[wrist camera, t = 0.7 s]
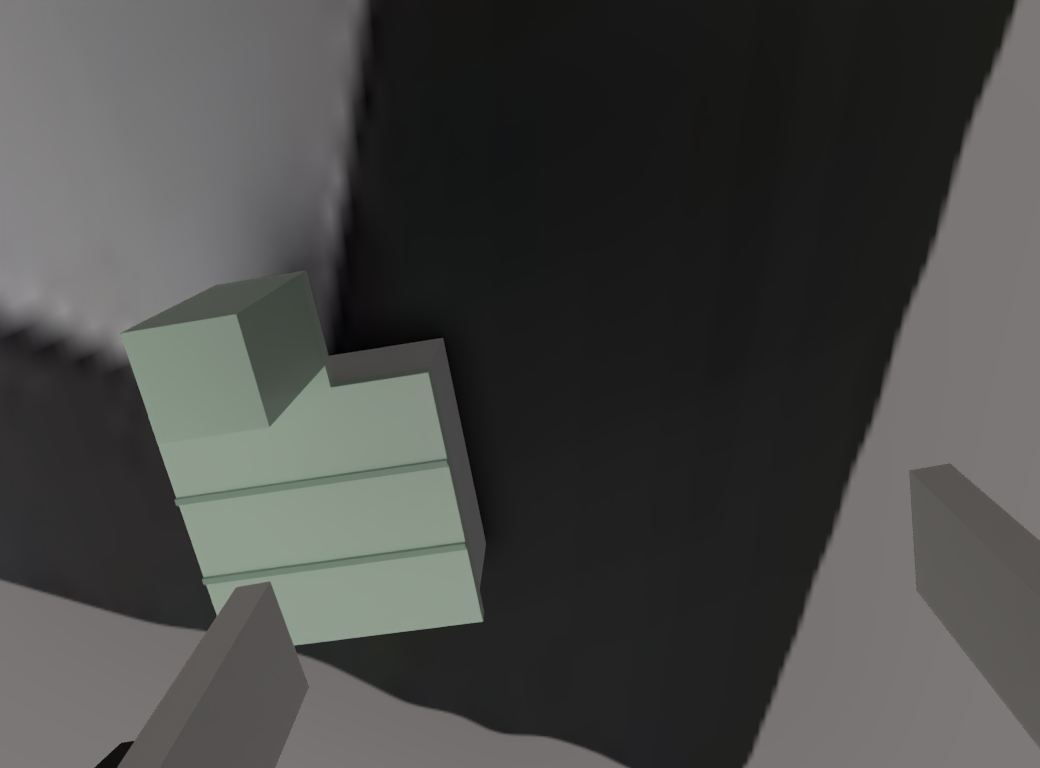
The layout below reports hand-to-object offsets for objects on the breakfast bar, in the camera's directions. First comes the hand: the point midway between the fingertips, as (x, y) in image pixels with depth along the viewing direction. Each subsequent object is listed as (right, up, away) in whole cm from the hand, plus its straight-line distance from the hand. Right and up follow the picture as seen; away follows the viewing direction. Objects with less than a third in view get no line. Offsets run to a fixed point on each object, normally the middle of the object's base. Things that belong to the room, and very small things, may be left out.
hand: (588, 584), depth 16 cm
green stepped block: (-11, 0, +20) cm, 22 cm away
